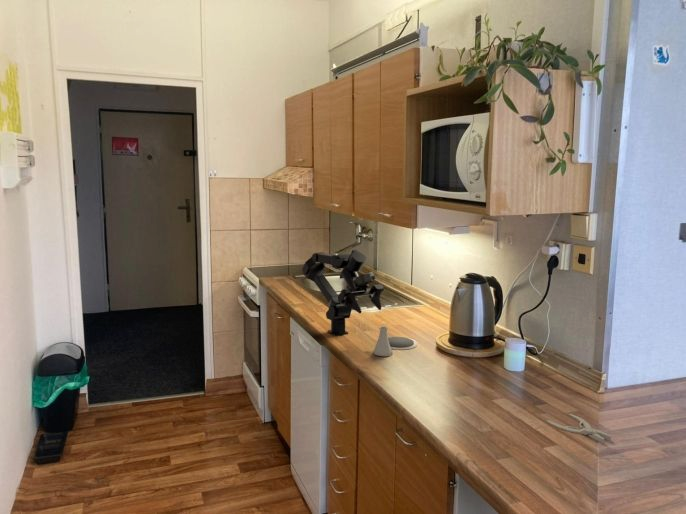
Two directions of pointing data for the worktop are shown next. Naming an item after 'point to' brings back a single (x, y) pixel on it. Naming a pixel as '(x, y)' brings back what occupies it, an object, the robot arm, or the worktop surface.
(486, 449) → the worktop surface
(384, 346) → the flask
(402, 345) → the coaster
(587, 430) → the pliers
